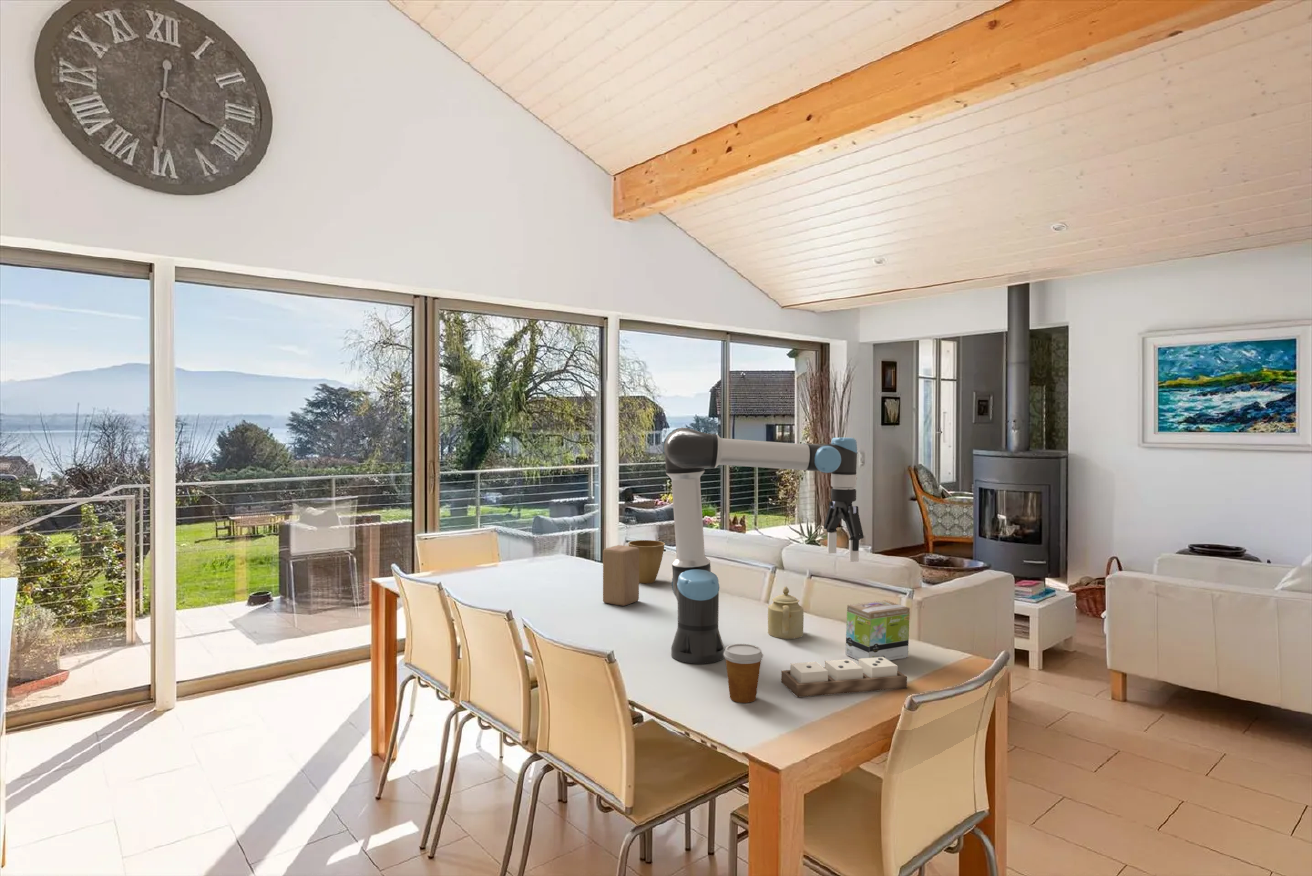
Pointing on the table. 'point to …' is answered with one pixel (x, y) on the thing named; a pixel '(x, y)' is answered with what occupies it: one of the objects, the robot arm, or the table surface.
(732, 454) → the robot arm
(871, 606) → the tea box
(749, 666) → the disposable coffee cup
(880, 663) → the tile
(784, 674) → the board
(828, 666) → the tile
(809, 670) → the tile
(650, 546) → the plant pot
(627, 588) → the block
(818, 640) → the table surface
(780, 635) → the beige teapot
